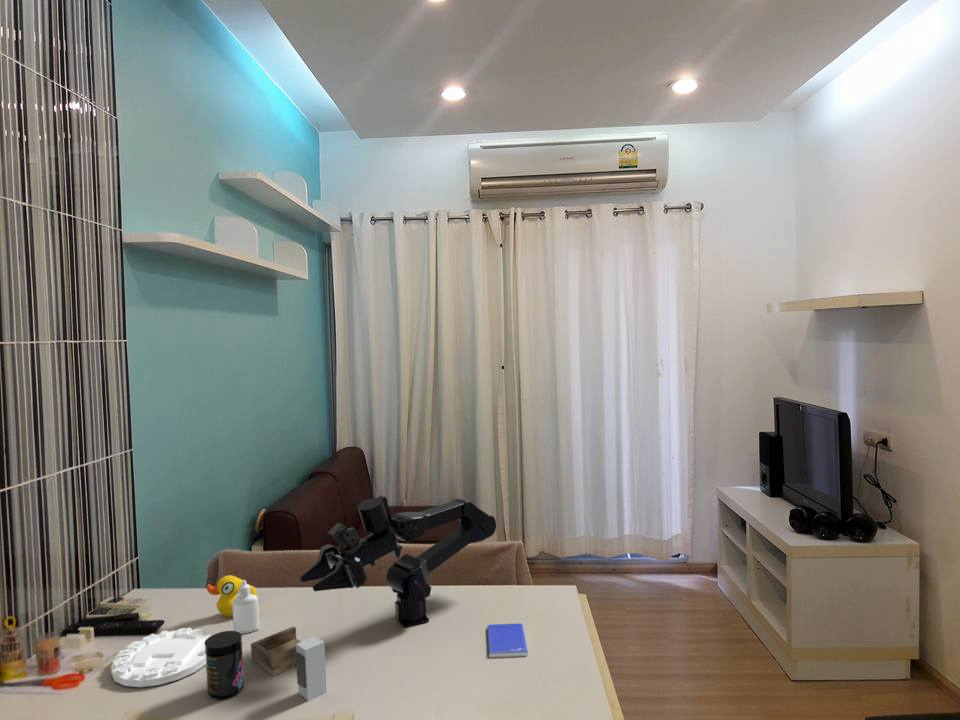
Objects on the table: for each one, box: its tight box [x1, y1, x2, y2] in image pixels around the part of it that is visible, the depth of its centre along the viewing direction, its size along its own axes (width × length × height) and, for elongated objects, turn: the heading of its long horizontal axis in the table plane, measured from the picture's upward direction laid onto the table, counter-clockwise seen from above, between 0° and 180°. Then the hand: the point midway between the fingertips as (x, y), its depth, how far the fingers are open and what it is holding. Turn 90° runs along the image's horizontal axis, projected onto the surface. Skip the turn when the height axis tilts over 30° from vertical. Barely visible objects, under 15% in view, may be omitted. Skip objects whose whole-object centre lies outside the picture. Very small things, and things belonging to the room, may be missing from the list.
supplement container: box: [205, 630, 245, 700], centre depth 122 cm, size 7×7×10 cm
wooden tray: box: [250, 626, 302, 677], centre depth 134 cm, size 10×10×4 cm
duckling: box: [206, 574, 258, 618], centre depth 155 cm, size 11×5×10 cm, turn 114°
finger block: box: [295, 635, 328, 702], centre depth 121 cm, size 4×4×10 cm
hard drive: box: [486, 623, 529, 658], centre depth 138 cm, size 2×8×12 cm
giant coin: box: [110, 627, 212, 688], centre depth 134 cm, size 20×20×3 cm
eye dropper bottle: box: [232, 579, 260, 635], centre depth 147 cm, size 4×6×12 cm
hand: (306, 584), depth 133 cm, fingers open, 9 cm apart
